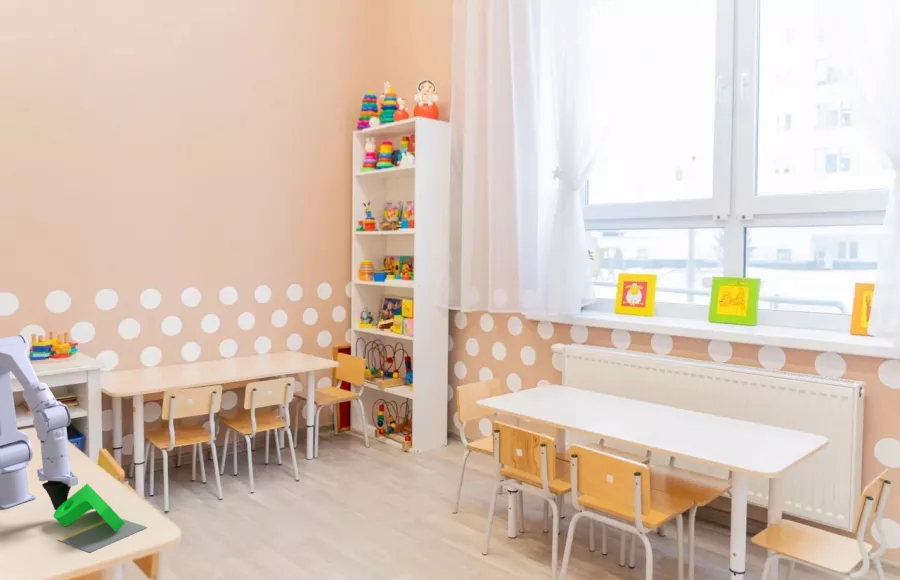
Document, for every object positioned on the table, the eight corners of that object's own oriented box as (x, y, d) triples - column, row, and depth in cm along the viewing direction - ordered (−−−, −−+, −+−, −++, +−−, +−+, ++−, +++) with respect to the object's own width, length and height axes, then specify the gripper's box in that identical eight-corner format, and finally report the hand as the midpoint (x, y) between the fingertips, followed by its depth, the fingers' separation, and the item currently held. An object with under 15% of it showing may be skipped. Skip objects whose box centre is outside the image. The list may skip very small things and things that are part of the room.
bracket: (70, 532, 170) (50, 512, 167) (105, 503, 175) (87, 483, 172) (90, 560, 155) (69, 538, 152) (128, 526, 160) (108, 505, 157)
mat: (57, 539, 158) (57, 539, 158) (114, 516, 170) (114, 516, 170) (89, 552, 151) (89, 552, 151) (147, 527, 163) (147, 527, 163)
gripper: (22, 455, 168) (27, 509, 170) (55, 465, 161) (60, 521, 162) (51, 447, 174) (56, 499, 176) (84, 456, 167) (89, 510, 168)
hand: (60, 509), depth 169 cm, fingers closed
